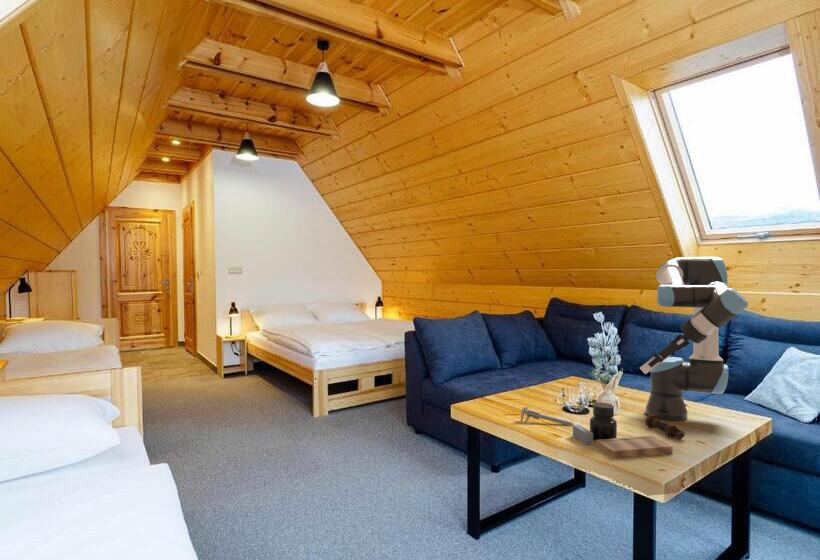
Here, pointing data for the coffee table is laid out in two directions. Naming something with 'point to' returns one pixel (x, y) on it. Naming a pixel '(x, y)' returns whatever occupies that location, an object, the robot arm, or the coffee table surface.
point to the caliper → (537, 415)
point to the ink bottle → (603, 422)
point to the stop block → (583, 434)
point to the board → (634, 447)
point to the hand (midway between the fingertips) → (648, 367)
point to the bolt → (664, 426)
